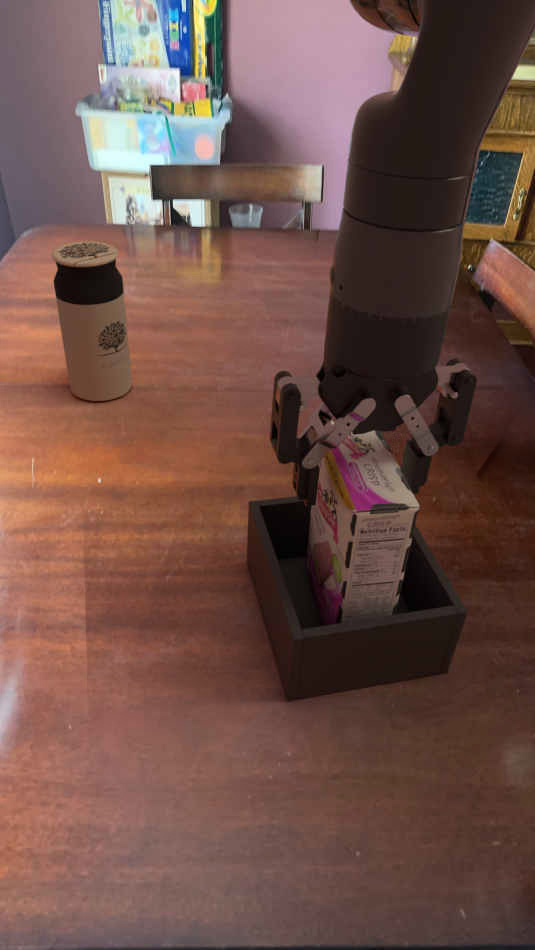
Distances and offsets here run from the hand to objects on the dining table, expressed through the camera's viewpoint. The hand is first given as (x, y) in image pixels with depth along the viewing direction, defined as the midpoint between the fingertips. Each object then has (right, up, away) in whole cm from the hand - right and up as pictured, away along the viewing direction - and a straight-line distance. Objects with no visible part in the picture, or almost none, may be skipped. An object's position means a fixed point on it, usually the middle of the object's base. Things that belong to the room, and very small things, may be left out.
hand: (358, 493), depth 52 cm
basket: (-1, -11, +8) cm, 14 cm away
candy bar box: (0, -11, +8) cm, 13 cm away
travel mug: (-29, +13, +37) cm, 49 cm away
